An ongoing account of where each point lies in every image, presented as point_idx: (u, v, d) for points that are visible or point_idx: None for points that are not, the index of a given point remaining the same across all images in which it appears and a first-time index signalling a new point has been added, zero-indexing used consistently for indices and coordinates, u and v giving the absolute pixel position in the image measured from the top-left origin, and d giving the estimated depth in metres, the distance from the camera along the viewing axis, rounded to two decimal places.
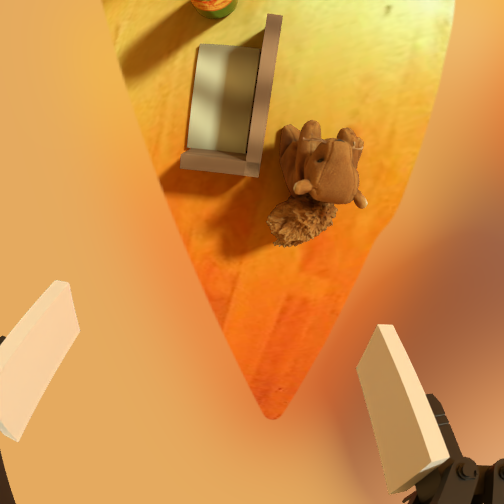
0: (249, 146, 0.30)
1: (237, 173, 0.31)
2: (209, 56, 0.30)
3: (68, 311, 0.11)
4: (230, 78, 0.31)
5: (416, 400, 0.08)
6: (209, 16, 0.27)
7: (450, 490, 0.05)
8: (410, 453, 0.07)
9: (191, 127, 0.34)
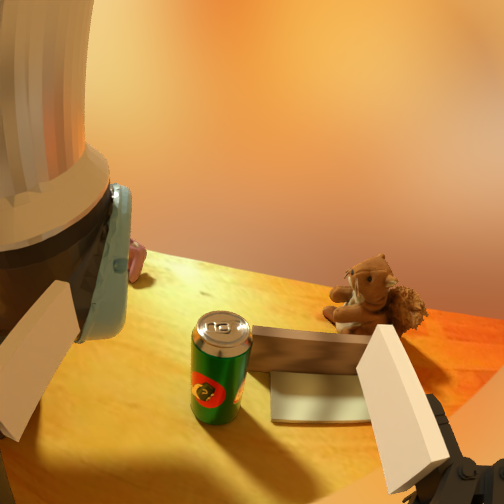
0: None
1: None
2: (286, 409, 0.30)
3: (68, 311, 0.11)
4: (306, 391, 0.32)
5: (416, 400, 0.08)
6: (239, 406, 0.29)
7: (450, 490, 0.05)
8: (410, 453, 0.07)
9: (363, 417, 0.29)
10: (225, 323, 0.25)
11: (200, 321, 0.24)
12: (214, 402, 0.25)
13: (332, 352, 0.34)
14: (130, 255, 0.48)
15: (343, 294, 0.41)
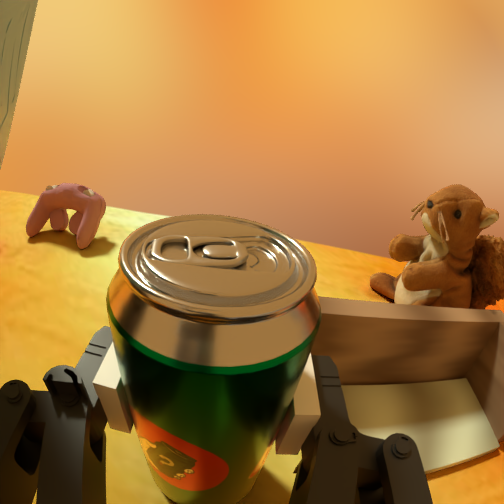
0: (486, 320, 0.16)
1: None
2: None
3: None
4: (383, 419, 0.15)
5: None
6: None
7: (325, 459, 0.06)
8: None
9: (476, 451, 0.12)
10: (226, 241, 0.07)
11: (140, 235, 0.07)
12: (196, 483, 0.08)
13: (426, 341, 0.16)
14: (81, 208, 0.29)
15: (410, 246, 0.24)
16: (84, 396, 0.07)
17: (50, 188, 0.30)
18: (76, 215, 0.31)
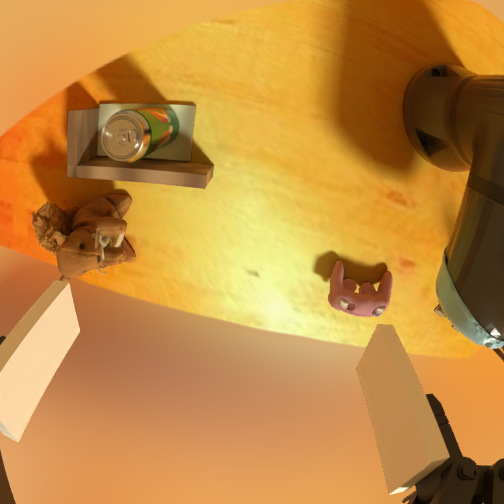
0: (87, 167, 0.31)
1: (68, 160, 0.31)
2: (181, 115, 0.34)
3: (68, 311, 0.11)
4: None
5: (416, 400, 0.08)
6: None
7: (450, 490, 0.05)
8: (410, 453, 0.07)
9: (116, 105, 0.33)
10: (120, 143, 0.24)
11: (141, 142, 0.24)
12: None
13: (128, 164, 0.33)
14: (346, 290, 0.41)
15: (112, 251, 0.35)
16: None
17: (381, 307, 0.40)
18: (351, 291, 0.42)
